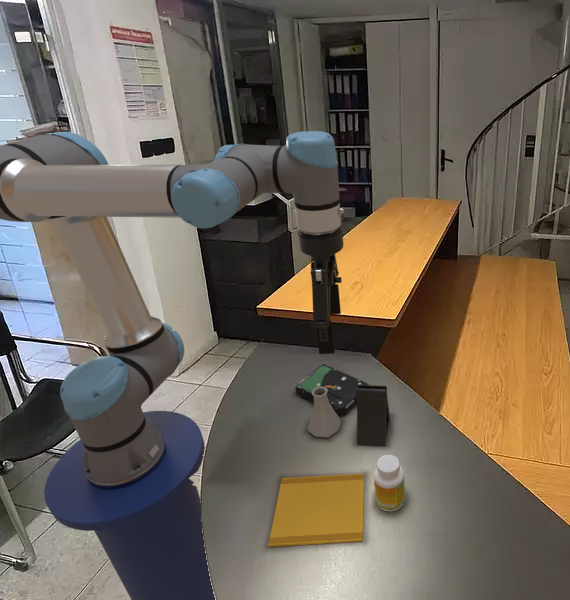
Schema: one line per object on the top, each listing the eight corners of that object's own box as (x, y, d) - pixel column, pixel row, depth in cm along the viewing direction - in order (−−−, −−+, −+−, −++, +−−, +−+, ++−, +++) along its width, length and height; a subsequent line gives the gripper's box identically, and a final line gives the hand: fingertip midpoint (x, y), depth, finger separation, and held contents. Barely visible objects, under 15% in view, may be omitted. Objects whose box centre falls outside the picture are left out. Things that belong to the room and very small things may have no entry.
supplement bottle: (402, 514, 87) (400, 477, 82) (373, 510, 88) (369, 473, 83) (407, 489, 92) (405, 453, 87) (379, 486, 92) (376, 449, 88)
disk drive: (370, 392, 116) (323, 371, 124) (369, 383, 115) (322, 362, 122) (342, 418, 109) (295, 394, 116) (341, 408, 108) (293, 385, 115)
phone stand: (385, 446, 101) (382, 402, 95) (357, 444, 102) (352, 401, 96) (390, 416, 109) (388, 374, 103) (364, 415, 109) (360, 373, 103)
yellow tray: (268, 547, 82) (268, 545, 82) (282, 479, 94) (281, 477, 94) (362, 541, 83) (362, 539, 82) (364, 475, 95) (364, 473, 94)
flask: (320, 411, 111) (315, 376, 106) (347, 420, 108) (343, 385, 103) (301, 432, 105) (295, 397, 100) (329, 442, 102) (324, 406, 98)
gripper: (335, 258, 72) (345, 371, 82) (347, 203, 93) (353, 299, 104) (284, 259, 71) (301, 372, 82) (308, 204, 93) (318, 300, 104)
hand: (330, 331), depth 93 cm, fingers open, 13 cm apart
